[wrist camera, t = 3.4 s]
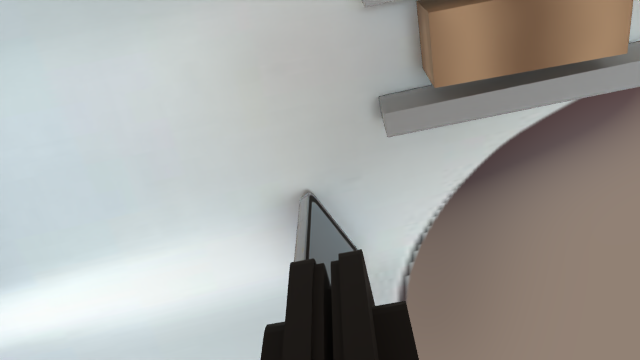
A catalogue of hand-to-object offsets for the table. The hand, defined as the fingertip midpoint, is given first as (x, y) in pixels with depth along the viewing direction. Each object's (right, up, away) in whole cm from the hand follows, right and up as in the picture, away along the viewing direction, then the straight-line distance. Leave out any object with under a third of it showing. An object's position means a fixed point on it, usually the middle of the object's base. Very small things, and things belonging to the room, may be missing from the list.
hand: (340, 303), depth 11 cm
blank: (+10, +12, +17) cm, 23 cm away
